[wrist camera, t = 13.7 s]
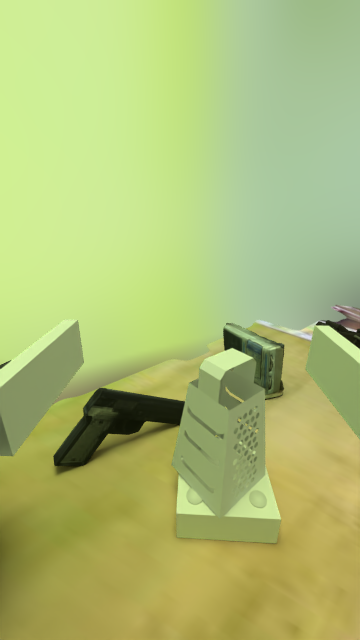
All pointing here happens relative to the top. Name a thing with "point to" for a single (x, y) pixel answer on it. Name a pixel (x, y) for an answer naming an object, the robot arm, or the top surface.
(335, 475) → the top surface
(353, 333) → the toy
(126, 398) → the handgun
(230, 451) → the grater
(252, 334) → the radio
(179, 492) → the pedestal
